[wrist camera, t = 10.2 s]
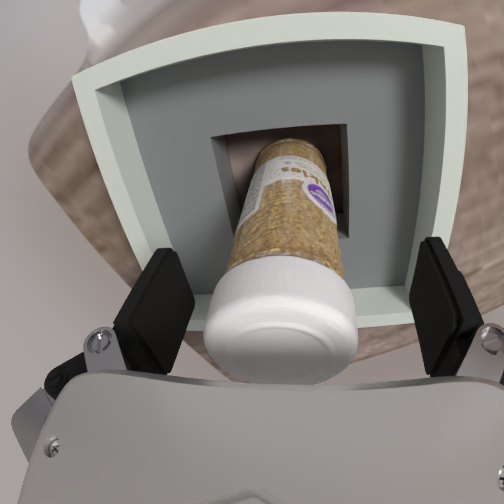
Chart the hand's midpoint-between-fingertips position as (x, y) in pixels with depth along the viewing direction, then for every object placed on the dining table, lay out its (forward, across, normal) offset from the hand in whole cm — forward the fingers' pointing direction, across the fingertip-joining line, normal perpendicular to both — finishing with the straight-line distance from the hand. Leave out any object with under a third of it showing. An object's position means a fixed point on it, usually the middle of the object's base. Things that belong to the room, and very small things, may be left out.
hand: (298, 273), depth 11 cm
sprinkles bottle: (+10, +1, 0) cm, 10 cm away
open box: (+10, +1, 0) cm, 10 cm away
